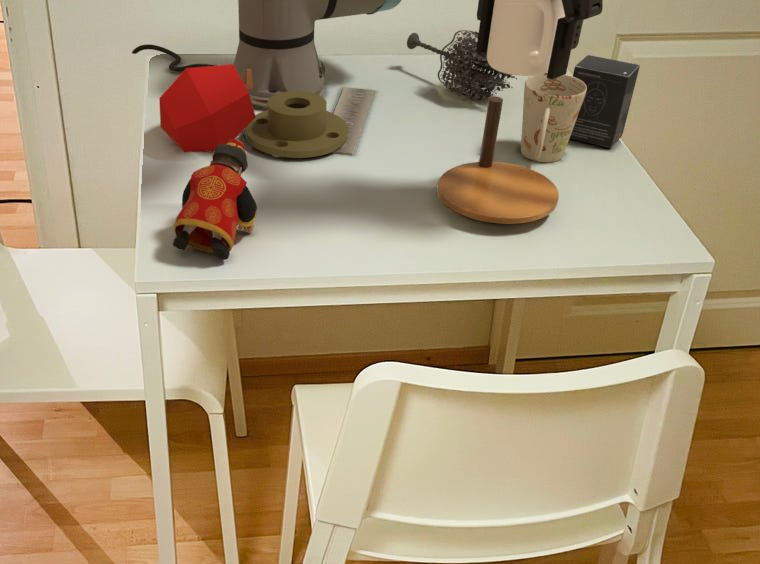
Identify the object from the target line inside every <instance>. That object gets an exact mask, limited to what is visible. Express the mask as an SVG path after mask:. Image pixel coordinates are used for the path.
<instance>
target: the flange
mask: <svg viewBox="0 0 760 564" xmlns="http://www.w3.org/2000/svg"><path fill="white" fill-rule="evenodd" d="M327 104H328V103H327V100H326V99H325V97H323V96H322V97H321V96H320V95H317V94H315V93H311V92H306V91H287V92H282V93H278V94H276V95H274V96H272V97H271V98H270V99H269V100H268V109H265V110H264V111H261V112H259V113H256V114H255V116H256V118H255V119H254V120H253V121H252V122H251V123H250V124H249V125H248V126H247V127H246V128H245V129H244V130H245V132H244V133H245V139H246V141H247V142H248V144H250V146H252V147H253V148H255V149H256V150H258V151H259V152H262V153H265V154H268V155H272V156H275V157H280V158H281V157H282V158H289V159H290V158H291V159H305V158H314V157H320V156H324V155H327V154H332V153H331V152H333V151H335V150H337V149H339V148H340V147H341V146H343V145H344V144H345V142H346V141H347V138H348V126H347V124H346V122H345V121H344V120H343V119H342V118H340V117H339V116H337V115H335V114H333V113H334V112H332V111H331V112H330V111H328V110H327Z"/></svg>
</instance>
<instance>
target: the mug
mask: <svg viewBox="0 0 760 564" xmlns="http://www.w3.org/2000/svg"><path fill="white" fill-rule="evenodd" d="M547 73H548V72H547ZM547 73H545V74H541V75H535V76H527V78H526V79H525V82H524V88H523V103H522V120H521V121H522V124H521V139H520V140H521V141H520V153H521V154H522V156H523V157H525V158H527V159H529V160H531V161H534V162H538V163H553V162H554V163H555V162H557V161H560V160H561V159H563V157H564V155H565V151H566V150H567V146H568V143H569V141H570V136H571V133H572V130H573V127H574V125H575V122H576V119H577V116H578V114H579V111H580V108H581V105H582V103H583V100H584V97H585V94H586V91H587V86H586V84H585V83H584V82H583V81H581V80H580V79H578V78H575V77H573V75H570V74H565V75H562V76H560V77H557V78H555V79H552V80H551V79H549V78H547Z"/></svg>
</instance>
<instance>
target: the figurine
mask: <svg viewBox="0 0 760 564" xmlns="http://www.w3.org/2000/svg"><path fill="white" fill-rule="evenodd" d="M248 166H249V165H248V157H247V153H246V146H245V144H244V142H242V141H241V140H239V139H236V138H235V139H231V140H229V141H228V142H227V144H220V145H218V146H216V148H215V150H214V151H213V154H212V160H210V162H209V165H207V166H203V167H201V168H199V169H196V170H195V171H193V172H192V174H191V175H190V179H189V180H188V182H187V183H186V186H185V188H184V189H183V192H182V198H181V210H180V211H179V213H178V214H177V216H176V219H175V221H174V223H173V229H174V233H175V237H174V239H173V242H172V246H173V247H174V248H176V249H177V250H179V251H185V250H186V249H187V247H188V246H189V247H191V248H192V249H196V250H199V251H201V252H205V253H210V254H211V253H212V254H214V255H215V256H216V258H218V259H221V260H228V259H229V256H230V251H232V250H233V248H234V247H233V246H234V244H235V241H236V235H237V229H239V230H242V231H244V232H247V233H248V234H251V233H252V232H253V230H254V228H255V219H256V217H257V210H258V205H257V203H256V200H255V199H254V196H253V195H252V192H251V191H250V189H249V187H248V186H247V184H248V183H247V181H246V180H245V178H243V176H242V174H243V173H244V172H246V170H247V169H248Z"/></svg>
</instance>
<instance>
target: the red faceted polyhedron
mask: <svg viewBox="0 0 760 564" xmlns="http://www.w3.org/2000/svg"><path fill="white" fill-rule="evenodd" d="M252 87H253V84H252V70H251V69H246V75H245V83H243V81H242V79H241V77H240V76H239V74H238V72H237V70H236V68H235V66H234V63H233V64H231V63H230V64H220V65H219V66H206V67H194V68H186V69H185V70H184V71H183V72H180V74H179V75H178V76H177V77H176V79H175V80H174V81H173V82H172V83H171V84H170V86H169V87H168V88H167V89H165V91H164V92H163V94H162V95H161V96H159V99H158V100H159V120H160V121H159V123H160V125H159V126H160V129H161V130H162V131H163V132H164V133H165V134H166V135H167V136H168V137H169V138H170V139H171V140H172V141H173V142H174V143H175V144H176V145H177V146H178V147H179V148H180V149H181V150H182V151H183V152H184V153H200V152H201V153H202V152H204V153H205V152H214V150H215V148H216V146H218V145H220V144H227V142H228V141H229V140H231V139H236V138H238V136H240V134H241V133H242V132H244V130H245V128H246V127H247V126H248V125H249V124H250V123H251V122H252V121H253V120H254V119H255V118H256V116H255V115H256V113H255V110H254V109H255V108H254V107H253V106H252V102H251V99H250V95H249V93H248V91H247V90H248V89H250V88H252Z"/></svg>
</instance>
